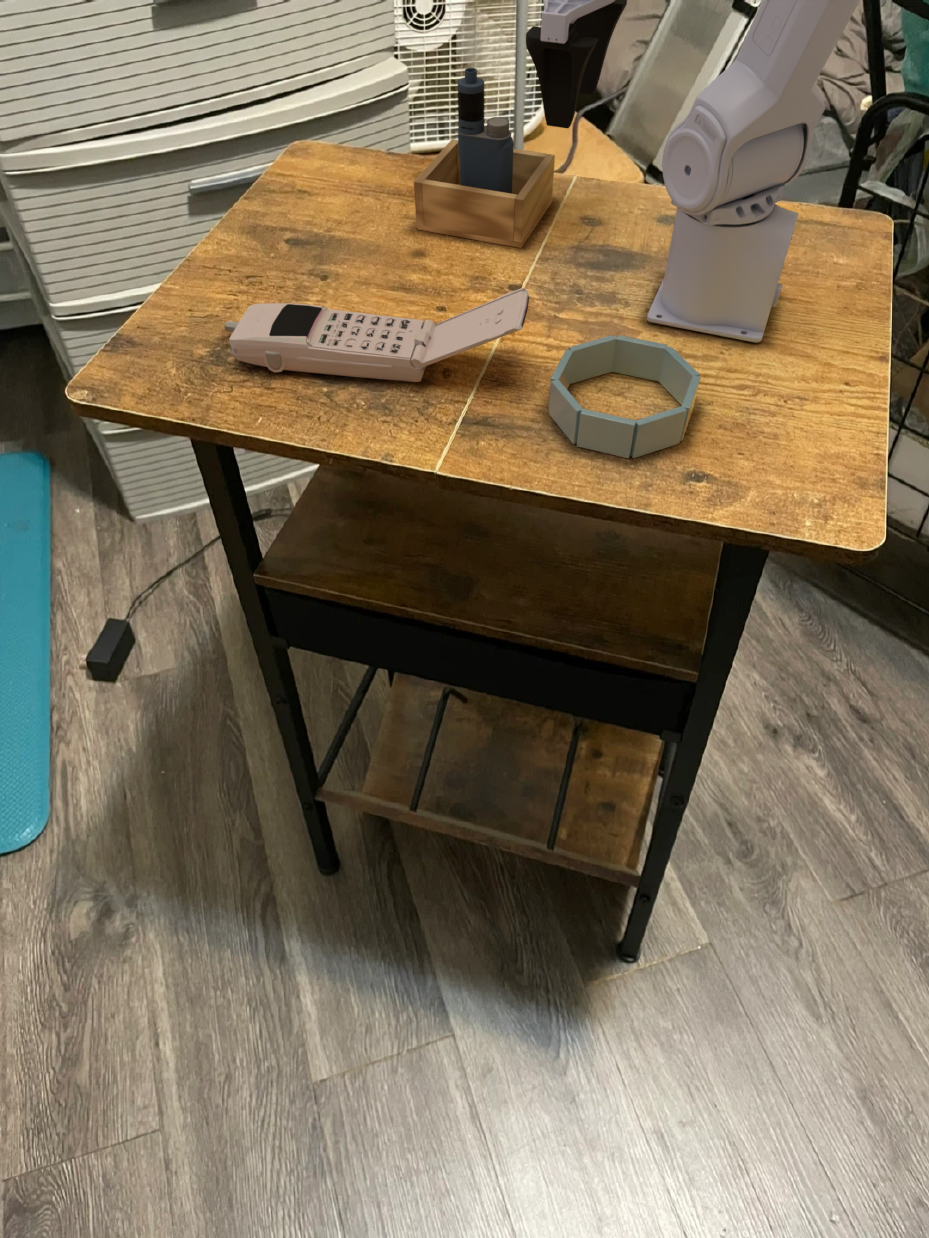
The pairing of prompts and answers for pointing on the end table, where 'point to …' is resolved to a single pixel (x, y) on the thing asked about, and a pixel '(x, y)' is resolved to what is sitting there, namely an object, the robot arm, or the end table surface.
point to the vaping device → (482, 140)
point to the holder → (484, 199)
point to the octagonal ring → (613, 430)
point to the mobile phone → (366, 338)
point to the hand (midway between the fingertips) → (571, 108)
